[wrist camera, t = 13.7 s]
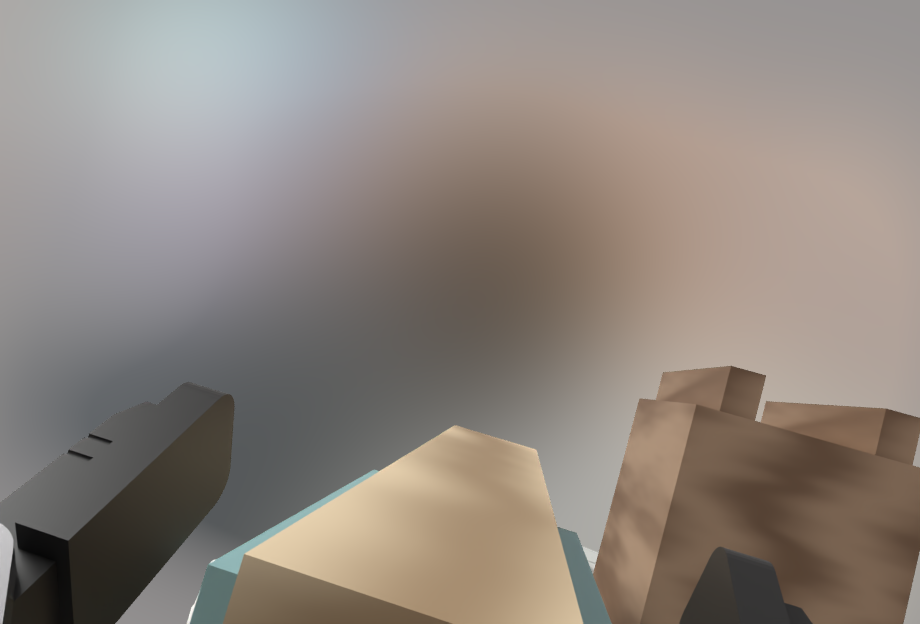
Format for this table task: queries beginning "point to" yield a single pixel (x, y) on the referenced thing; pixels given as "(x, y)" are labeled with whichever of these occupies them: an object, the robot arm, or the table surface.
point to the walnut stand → (762, 501)
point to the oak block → (420, 547)
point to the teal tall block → (226, 568)
